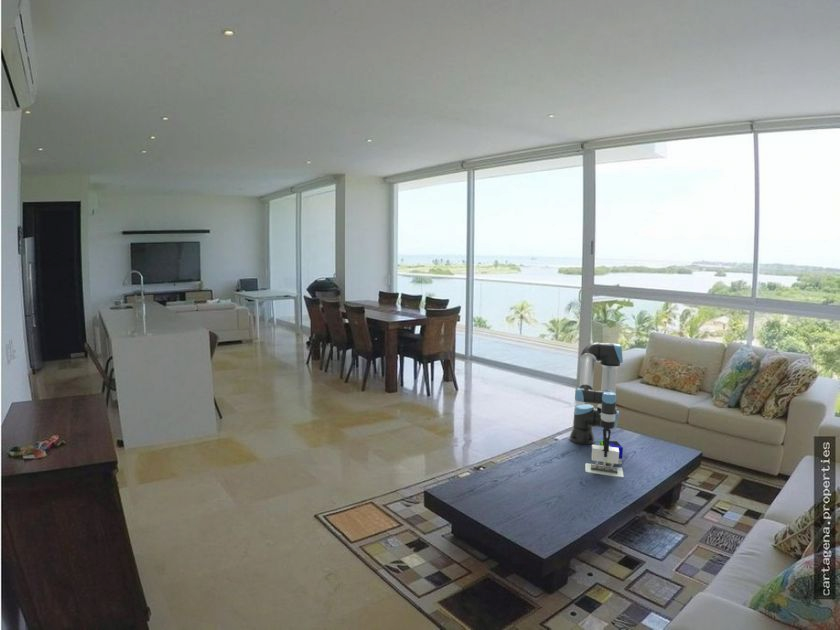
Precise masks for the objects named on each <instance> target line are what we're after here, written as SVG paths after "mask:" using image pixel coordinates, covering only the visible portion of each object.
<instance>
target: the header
mask: <svg viewBox="0 0 840 630" xmlns="http://www.w3.org/2000/svg"><path fill="white" fill-rule="evenodd" d="M602 463H603V464H599V461H595V464H594V463H590V462H589V463H587V462H586V463H584V464H585V468H584V471H585V473H587V474H588V473H589V474H595V475H603V476H609V477H610V476H611V477H616V478H622V479H623V478H625V477H624V470H623V467H617V466H614V464H613V463H611V464H610V466H609V465H607V464H606V462H602Z"/></svg>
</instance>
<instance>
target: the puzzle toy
mask: <svg viewBox="0 0 840 630" xmlns="http://www.w3.org/2000/svg"><path fill="white" fill-rule="evenodd" d="M599 445H601V446H604V445H603V440H600V441H599ZM609 447H616V448H619V461H618V464H617V465H622V464H623V451H624V448H623V446H622V445H621V444H620V443H619V442H618V441H617V440H609ZM606 465H611V463H607V462H606ZM613 465H616V464H615V463H613Z"/></svg>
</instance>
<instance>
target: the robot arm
mask: <svg viewBox="0 0 840 630" xmlns="http://www.w3.org/2000/svg"><path fill="white" fill-rule="evenodd" d="M623 358H624V357H623V348H622V344H618V343H613V342H612V343H611V342H609V343H608V342H598V341H597V342H592V343H589V344H588V345H586V346H585V347H584V348H583V349H582V350H581V353H580V358H579V360H580V362H581V365H580V377H579V387H577V388H575V391H574V392H575V394H574V399H575V401H576V402H581V403H583V404H578V405H576V406H575V407H574V412H573V428H572V430H571V432H570V435H569V440H570V441H571V442H573V443H575V444H577V445H586V446H587V445H592V444H593V445H594V443H595V436H594V432H593V427H594V428H595V427H596V428H602V441H603V445H604V449H603V450H602V451H603V460H602V463H603V462H607V463H608V452H609V441H610V439H611V432H612V431H611V430H614V429H615V428H616V427H617V425H618V421H619V415H620V410H617V409H618V407H617V400H618V399H617V394H616V390H617V378H618V377H617V376H618V375H617V373H618V369H619V368H620V366H621V364H623V361H624V360H623ZM596 362H600V366H601V367H602V373H601V386H600V387H601V389H600V390H599V389H594V375H595V364H596ZM590 403H591V404H590ZM593 404H597V407H596V408H595V406H594V405H593Z"/></svg>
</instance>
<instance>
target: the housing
mask: <svg viewBox="0 0 840 630" xmlns="http://www.w3.org/2000/svg"><path fill="white" fill-rule="evenodd" d="M603 449H604V446H601V445H600V444H594V443H593V444H591V461H595V462H596V461H598V462H602V460H603V451H602V450H603ZM618 461H619V448H616V447H609V452H608V463H615V464H614V465H619V464H618ZM602 463H603V462H602Z"/></svg>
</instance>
